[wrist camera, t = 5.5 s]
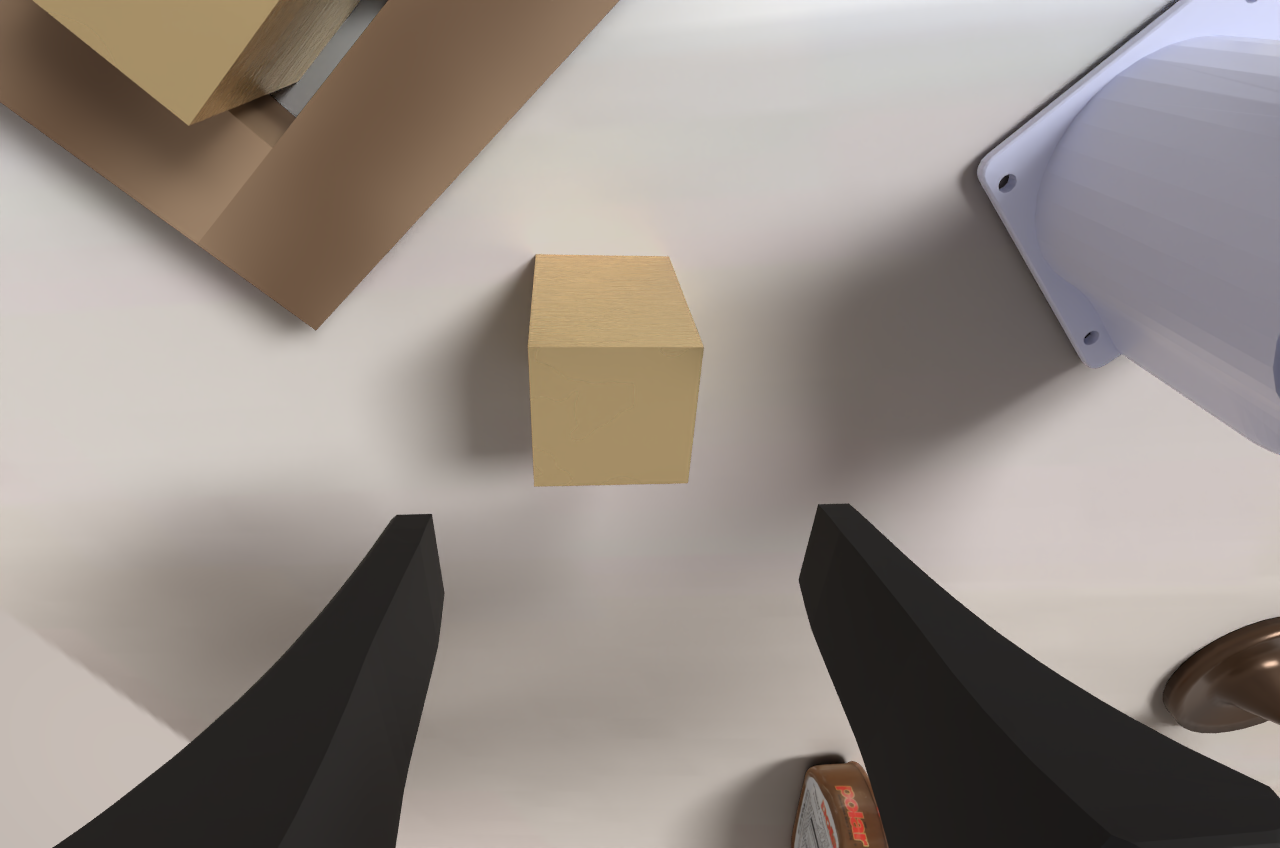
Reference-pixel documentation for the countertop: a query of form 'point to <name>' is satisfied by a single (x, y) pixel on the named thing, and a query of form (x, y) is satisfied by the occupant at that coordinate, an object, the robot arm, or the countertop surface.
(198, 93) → the block
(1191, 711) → the candlestick
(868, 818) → the tin
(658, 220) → the countertop surface
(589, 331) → the loose billet
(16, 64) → the wooden socket board
